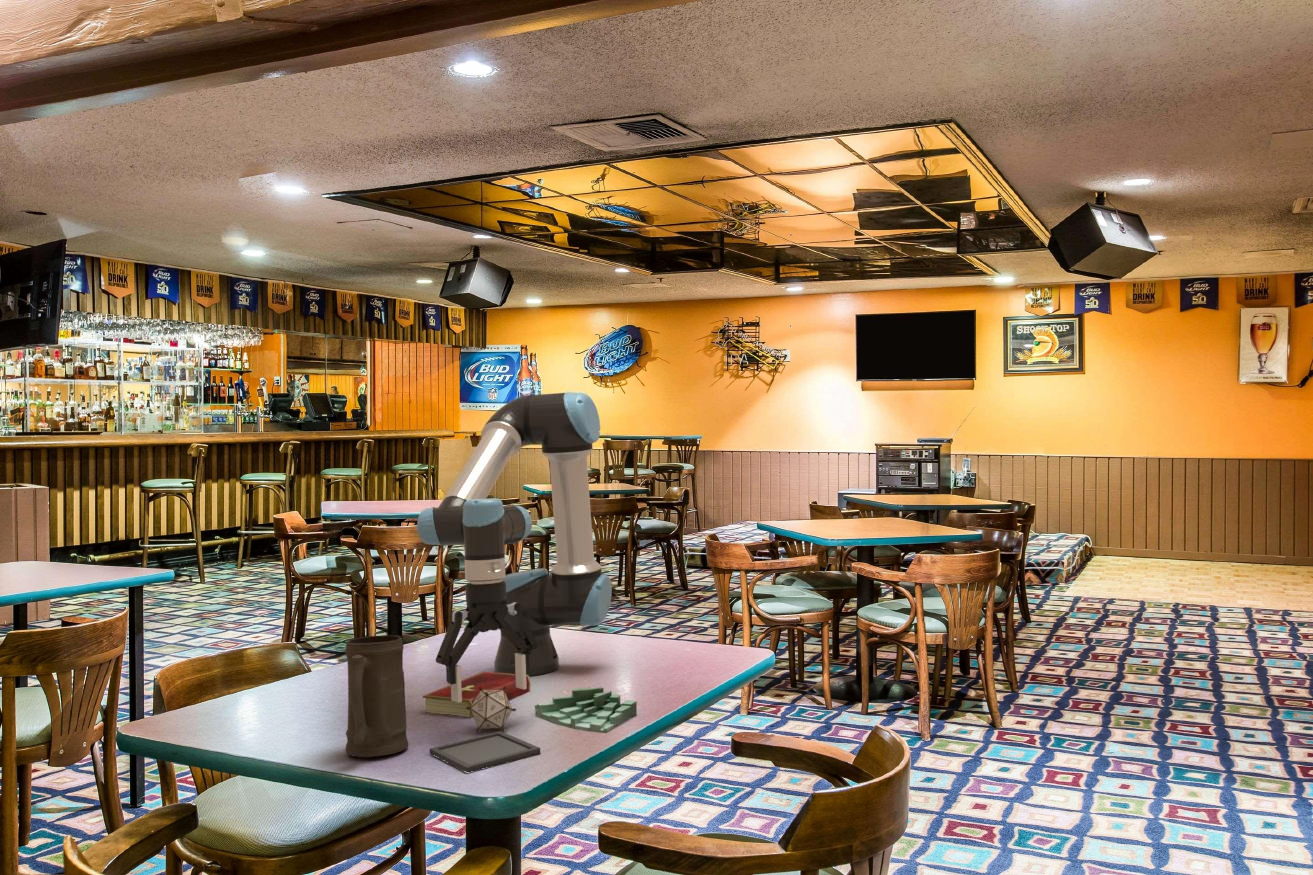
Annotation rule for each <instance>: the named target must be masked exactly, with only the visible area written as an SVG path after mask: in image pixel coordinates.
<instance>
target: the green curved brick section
mask: <svg viewBox="0 0 1313 875" xmlns="http://www.w3.org/2000/svg"><path fill="white" fill-rule="evenodd" d="M604 688H605V687H603V686H602V687H601V686H600V687H589V686H587V687H582V688H581V687H580V688H577V689H571V695H564V696H555V697H552V698H551V699H552V702H542V703H541V702H540V703H536V704H535V705H534V709H535V710H534V712H535V713H534V714H535V715H536V716H538V717H540V718H541V719H544V720H546V721H548V722H552V723H555V724H557V725H559V724H560V726H562V725H563V726H564V727H566V726H567V728H573V729H575V730H580V729H581V731H587V732H595V731H596V732H595V733H597V732H598V733H608V732H610V731H611V729H612V730H613V729H614V728H615V727H618V726H620V725H622V724H624V723H625V722H627V721H629V720H630V719H631V718H633V717H636V716H638V715H637V713H638V712H637V711H638V710H637V706H638V705H637V703H638V701H637V700H628V699H626V700H625V701H623V702H622V703H621V694H617V693H613V692H612V691H611V690H609V691H604ZM612 694H613V695H612Z"/></svg>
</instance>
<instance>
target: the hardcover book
mask: <svg viewBox="0 0 1313 875" xmlns="http://www.w3.org/2000/svg"><path fill="white" fill-rule="evenodd" d="M479 686H480V687H481V688H482V690H493V689H503V687H504V686H506V689H505V690H504V691H505V693H506V696H507V698H508V700H509V702H510V701H512V700H514V699H517V698H519V697H520V696H523V695H525V694H527V693H529V692H530V691H531V680H530V676H528V675H526V686H527V689H520V688H517V687H516V674H507V673H495V671H481V672H479V673H477V674H475V675H472V676H469V677H467V678H464V679H461V691H462V702H459V703H457V702H455V701H452V700H451V684H448V685H446V686H444V687H442V688H439V689H437V690H433V691H431V692H428V693H426V694H423V695H422V698H424V699H425V713H426V712H432V713H431V714H434V713H439V714H438V715H444V714H452V715H451V716H453V715H459V716H458V717H463V716H467V717H466V718H469V719H472V718H474V717H473V715H472V713H471V710H470V709H469V710H467V709H466V707H467V706H468V707H471V705H472V703H473V702H474V700H475V699H476V697H477V695H478V694H479V692H480V690H479Z"/></svg>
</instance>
